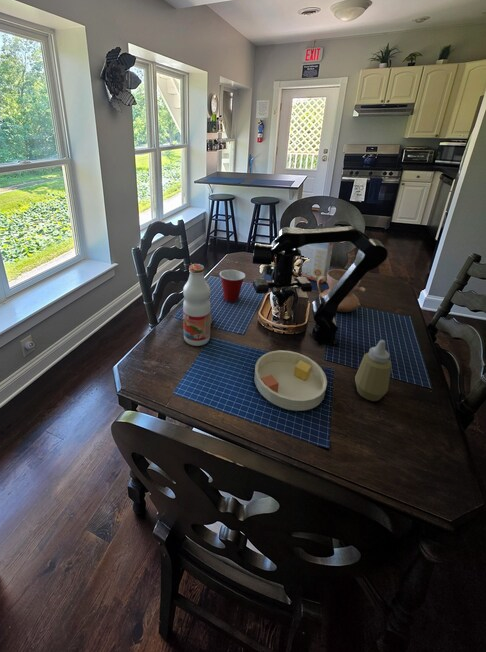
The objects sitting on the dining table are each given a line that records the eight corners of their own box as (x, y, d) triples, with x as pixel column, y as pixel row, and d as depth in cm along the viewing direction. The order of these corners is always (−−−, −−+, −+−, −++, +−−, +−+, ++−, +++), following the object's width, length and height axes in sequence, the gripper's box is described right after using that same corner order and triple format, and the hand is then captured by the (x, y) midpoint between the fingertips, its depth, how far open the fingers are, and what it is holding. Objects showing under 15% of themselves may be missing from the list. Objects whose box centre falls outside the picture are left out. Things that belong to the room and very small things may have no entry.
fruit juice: (215, 340, 112) (217, 268, 101) (193, 350, 108) (192, 275, 97) (200, 327, 120) (200, 258, 109) (178, 335, 115) (176, 265, 104)
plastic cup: (248, 296, 140) (249, 271, 135) (237, 307, 131) (239, 281, 127) (225, 290, 145) (226, 266, 141) (214, 300, 137) (214, 275, 132)
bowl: (308, 358, 103) (309, 348, 101) (337, 410, 85) (340, 398, 83) (247, 361, 102) (248, 351, 101) (264, 414, 84) (265, 402, 82)
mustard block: (298, 369, 98) (300, 360, 97) (310, 374, 96) (311, 365, 95) (293, 375, 96) (295, 366, 94) (305, 381, 94) (306, 372, 92)
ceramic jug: (366, 306, 131) (373, 275, 125) (353, 321, 121) (360, 288, 116) (322, 291, 142) (327, 262, 137) (307, 304, 133) (312, 273, 127)
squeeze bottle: (384, 409, 85) (400, 355, 78) (350, 397, 89) (363, 344, 82) (385, 389, 91) (401, 337, 84) (354, 378, 95) (366, 328, 88)
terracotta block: (270, 383, 93) (271, 374, 92) (277, 392, 90) (278, 383, 89) (260, 387, 92) (260, 378, 90) (267, 396, 89) (268, 386, 87)
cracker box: (327, 279, 153) (334, 238, 145) (322, 283, 149) (329, 241, 141) (299, 270, 162) (305, 231, 154) (294, 274, 158) (299, 234, 150)
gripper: (302, 255, 113) (297, 294, 119) (250, 257, 112) (247, 296, 119) (316, 269, 103) (309, 310, 109) (258, 271, 102) (255, 312, 108)
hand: (279, 306), depth 111 cm, fingers closed
